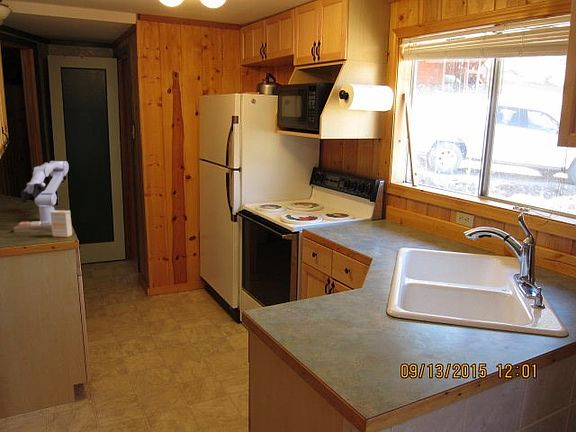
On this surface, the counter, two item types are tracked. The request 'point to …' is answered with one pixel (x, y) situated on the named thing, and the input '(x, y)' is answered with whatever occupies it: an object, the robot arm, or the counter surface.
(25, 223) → the terracotta key
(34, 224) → the cream key
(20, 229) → the key panel
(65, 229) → the supplement box
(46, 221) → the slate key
